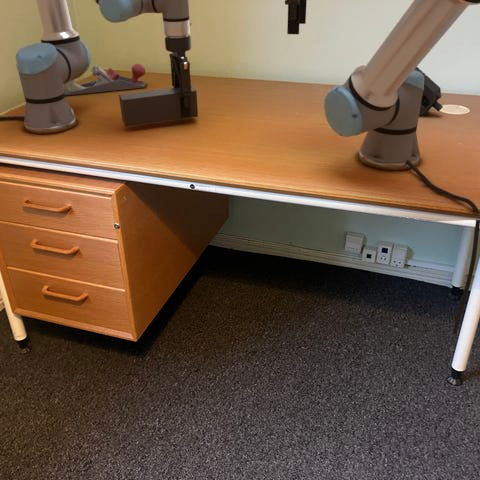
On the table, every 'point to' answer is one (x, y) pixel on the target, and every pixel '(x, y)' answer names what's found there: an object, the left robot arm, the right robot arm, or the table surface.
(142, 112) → the bar
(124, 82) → the hand plane
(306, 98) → the table surface
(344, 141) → the table surface
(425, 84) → the tool
